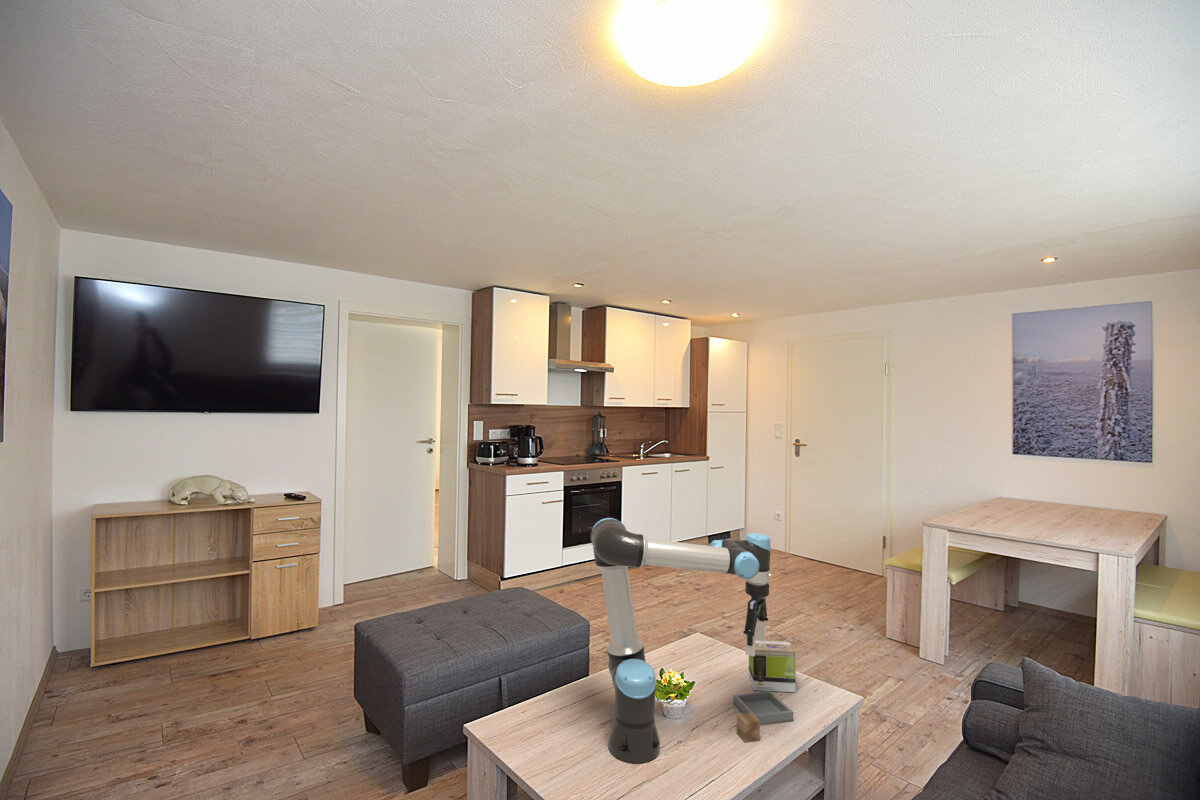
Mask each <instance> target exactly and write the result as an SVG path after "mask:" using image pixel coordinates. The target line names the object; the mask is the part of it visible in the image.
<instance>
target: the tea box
mask: <svg viewBox="0 0 1200 800" xmlns="http://www.w3.org/2000/svg"><path fill="white" fill-rule="evenodd" d="M748 677H749V680H750V683H751V686H752V689H753V690H754V691H762V692H763V691H771V692H778V693H779V692H780V693H781V692H783V693H796V692H797V691H796V685H797V683H796V682H797V681H796V651H795V650H794V648H793V646H792V645H791V643H790V641H787V640H786V641H784V640H783V641H782V640H766V639H765V641H764V642H763V641H759V640H756V639H755V656H750V655H748Z"/></svg>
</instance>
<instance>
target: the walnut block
mask: <svg viewBox="0 0 1200 800" xmlns="http://www.w3.org/2000/svg"><path fill="white" fill-rule="evenodd" d="M760 729H761V725H760V721H759V720H758V719H757V718H756V717H755V716H754V714H753V713H752V712H751V713H742V712H741V713H737V714H736V735H738V737H739V738H740V739H741V740H742V742H743V743H755V742H760V739H761V737H760V736H761V735H760V732H761V730H760Z"/></svg>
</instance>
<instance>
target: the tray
mask: <svg viewBox="0 0 1200 800" xmlns="http://www.w3.org/2000/svg"><path fill="white" fill-rule="evenodd" d="M732 703H733V705H734V707H736V708H737V710H738V711H740V712H741V714H742V713H751V712H752V713H753V714H754V716H755V717H756V718H757V719H758V720H759V721H760V726H766V725H774V724H782V723H790V722H794V711H793V709H791V708H790V707H789V706H787V704H785V703H784V702H783V701H782V700H781V699H780V698H779V697H778V696H776V694H774V693H773V691H763V690H762V691H755V692H746V693H737V694H733V702H732Z"/></svg>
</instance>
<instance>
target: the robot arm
mask: <svg viewBox="0 0 1200 800" xmlns="http://www.w3.org/2000/svg"><path fill="white" fill-rule="evenodd" d="M590 542H591V544H592V549H593V554H594V555H593V556H594V561H595V563H594V564H595V566H596V567H597V568H599V570H600V572H601V577H602V578H601V579H602V586H603V594H604V599H605V607H606V614H607V615H606V616H607V621H608V629H609V637H610V643H609V645H608V646H607V648H606V649H607V655H608V656H607V657H608V666H607V667H608V670H609V671H608V672H609V674H610V676H611V681H612V684H613V688H614V689H613V690H614V692H615V703H614V704H615V711H614V713H615V715H614V721H613V724H612V726H611V727H612V728H611V731H610V733H609V737H608V750H609V752H610V754H611V755H612V756H614V757H615V758H616V759H618V760H620V761H623V762H626V763H630V764H643V763H648V762H650V761H653V760H654V759H656V758H657V756H659V754H660V751H661V740H660V736H659V732H658V730H657V726H656V723H655V713H656V712H655V711H656V686H657V678H656V672H655V669H654V667H653V666H652V664H650V663H648V662H647V661H646V655H645V648H644V642H643V641H642V640H640V639H639V638H638V630H637V624H636V616H635V611H634V603H633V596H632V590H631V589H632V588H631V582H630V581H631V580H630V575H629V574H630V573H629V567H630V568H639V569H640V568H642V567H643V566H653V567H664V568H665V567H666V568H672V569H673V568H674V569H681V570H691V571H701V572H710V573H719V574H728V575H733V576H734V575H737V576H738V577H739V578H741V579H744V580H746V581H745V588H744V589H745V590H744V591H745V594H747V596H748V595H749V596H750V599H749V601H748V602H747V610H746V611H747V612H746V618H745V624H744V625H745V626H744V630H743V634H745V655H746V656H749V655H750V656H755V640H759V641H763V642H764V641H765V640H766V622H768V621H769V618H768V613H767V612H768V609H767V601H766V597H769V595H770V584H769V583H770V578H772V573H770V570H771V565H770V564H771V551H772V549H771V538H770V536H769V535H767V534H764V533H760V532H759V533H758V532H756V533H755V532H752V533H748V534H747V536H746V539H744V540H739V539H737V540H736V539H735V540H733V539H730V540H729V539H717V540H715V539H714V540H712V541H711V542H710V545H704V544H695V543H687V542H679V541H671V540H663V539H662V540H660V539H653V538H647V537H646V536H645V535H644V534H641V533H640V534H639V533H634V532H632V531H628V530H627V528H626V525H624V523H623V522H621V521H620V520H618V519H616V518H613V517H607V518H606V517H605V518H602V519H600V520H599V521H597V522H596V523H595V524H594V525H593V527H592V529H591V533H590ZM755 632H756V634H755Z"/></svg>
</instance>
